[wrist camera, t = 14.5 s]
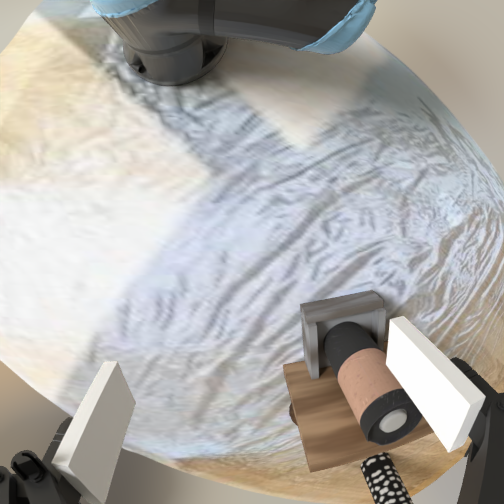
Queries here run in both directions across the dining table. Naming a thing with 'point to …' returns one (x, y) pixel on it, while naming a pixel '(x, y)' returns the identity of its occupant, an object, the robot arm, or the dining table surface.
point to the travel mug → (370, 385)
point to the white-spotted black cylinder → (384, 480)
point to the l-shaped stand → (335, 384)
